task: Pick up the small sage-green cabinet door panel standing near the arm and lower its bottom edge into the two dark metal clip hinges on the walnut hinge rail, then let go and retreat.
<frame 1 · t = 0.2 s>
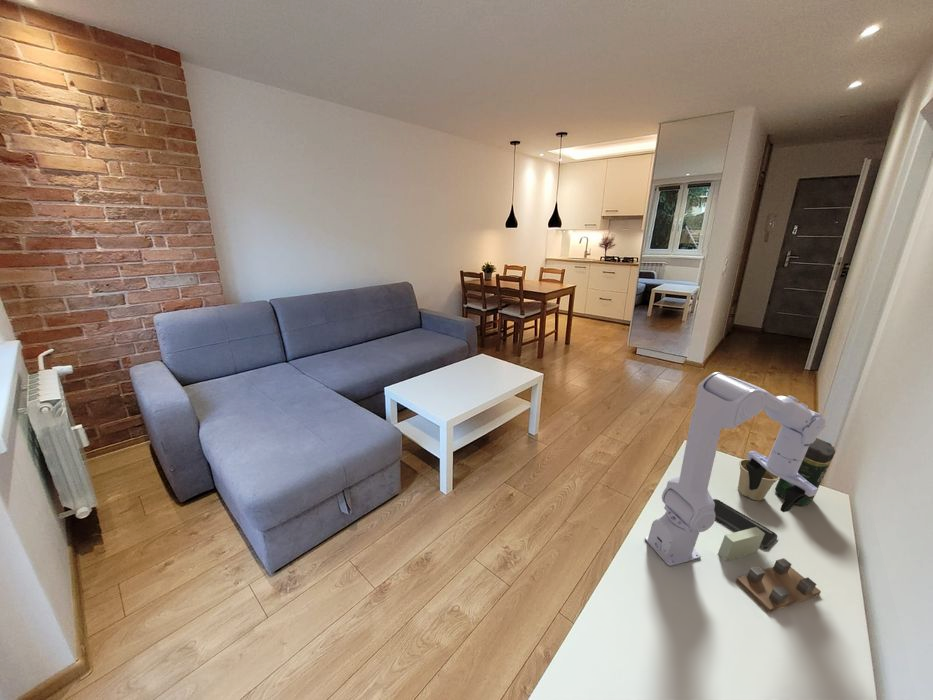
hand: (768, 499, 90), 10 cm above the table, tool pointing down, fingers open, 7 cm apart
door panel: (737, 553, 87), on the table
flower pot: (749, 493, 107), on the table
hinge rail: (777, 587, 78), on the table
phone: (737, 525, 95), on the table
coffee jar: (793, 496, 106), on the table
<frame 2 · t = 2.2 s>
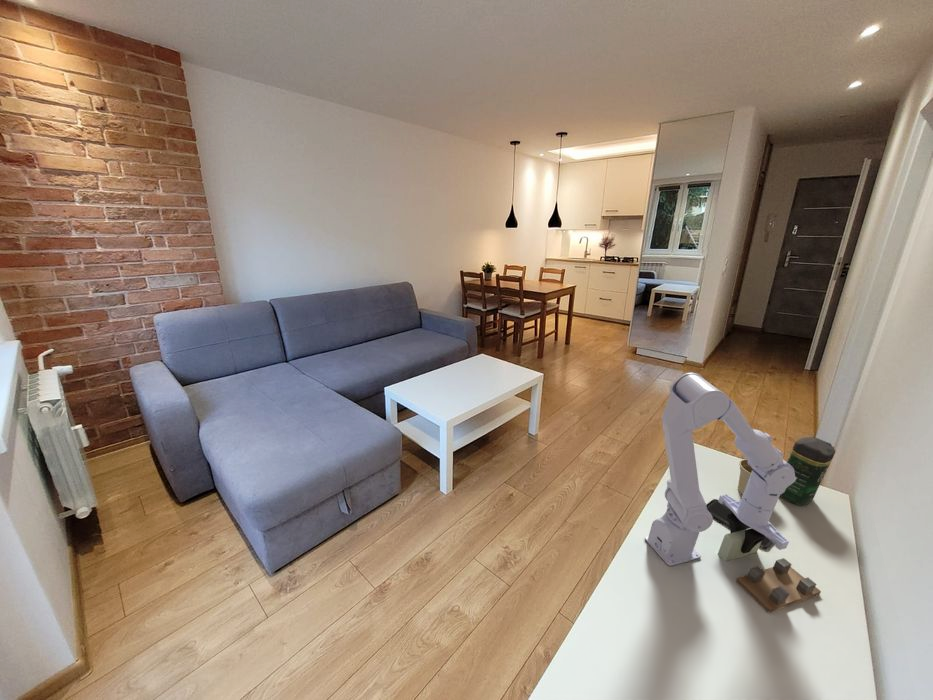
hand: (739, 546, 86), 2 cm above the table, tool pointing down, fingers closed on door panel, 2 cm apart
door panel: (737, 553, 87), on the table, touching gripper
everything else where it was.
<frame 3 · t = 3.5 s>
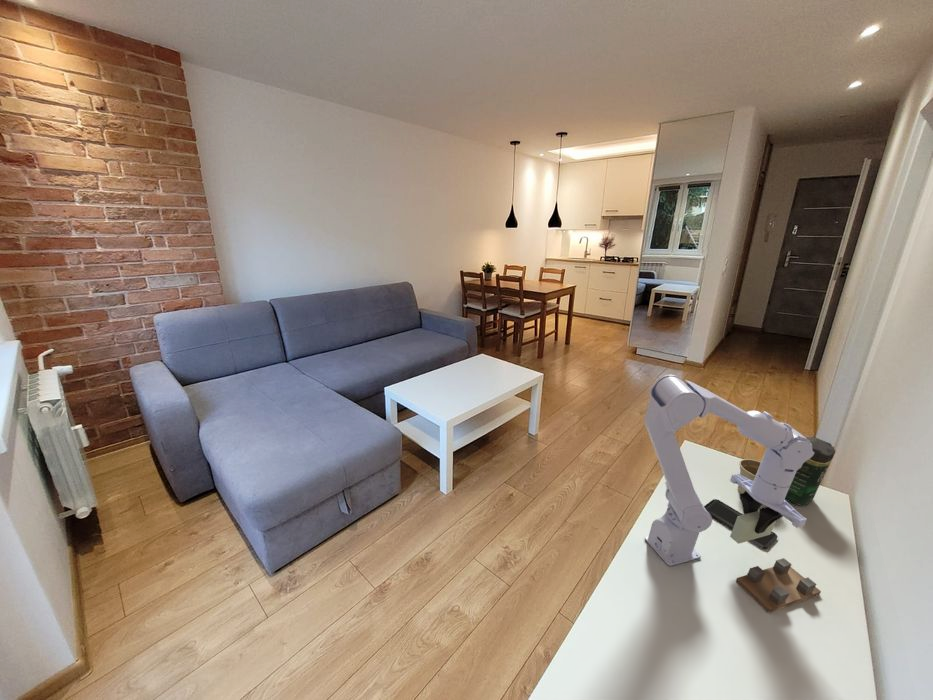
hand: (753, 527, 83), 9 cm above the table, tool pointing down, fingers closed on door panel
door panel: (750, 535, 83), point 6 cm above the table, touching gripper
everything else where it was.
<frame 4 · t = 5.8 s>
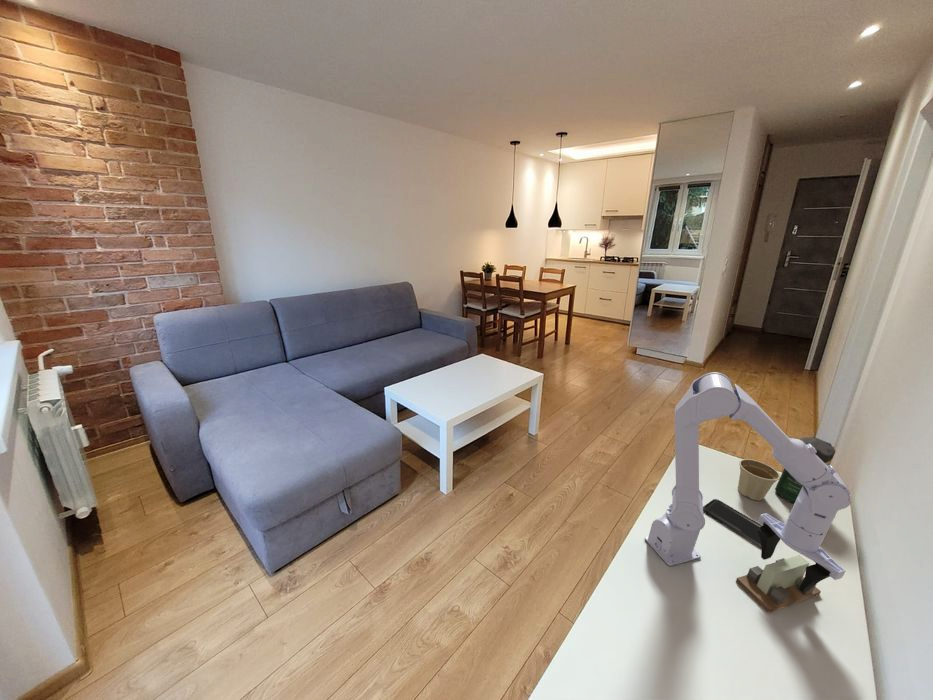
hand: (784, 573, 77), 4 cm above the table, tool pointing down, fingers open, 7 cm apart
door panel: (778, 584, 78), point 1 cm above the table, touching hinge rail
everything else where it was.
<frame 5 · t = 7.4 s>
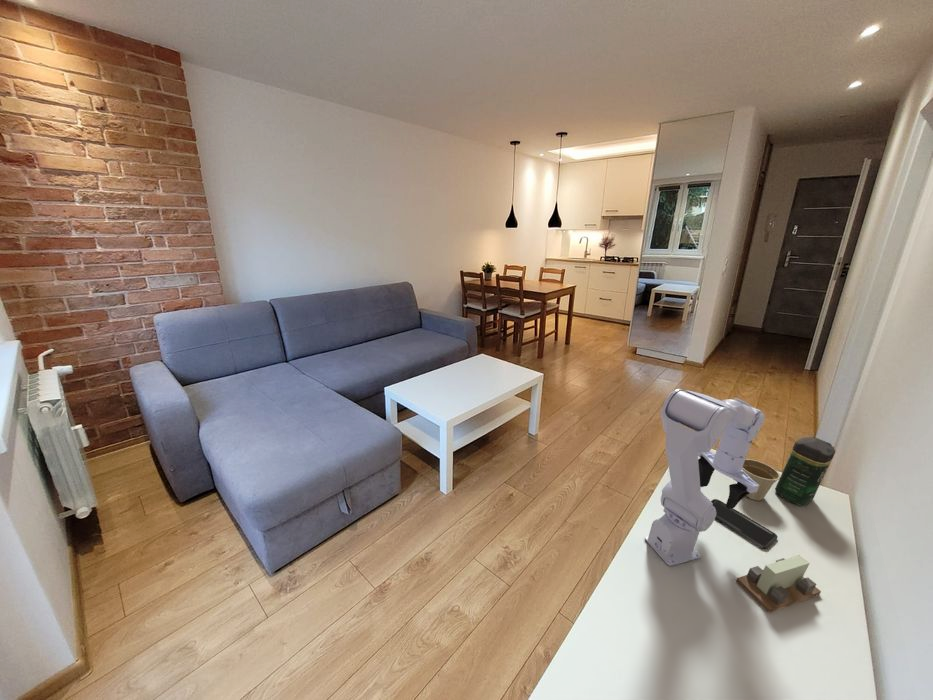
hand: (716, 496, 91), 9 cm above the table, tool pointing down, fingers open, 7 cm apart
nothing on the table moved.
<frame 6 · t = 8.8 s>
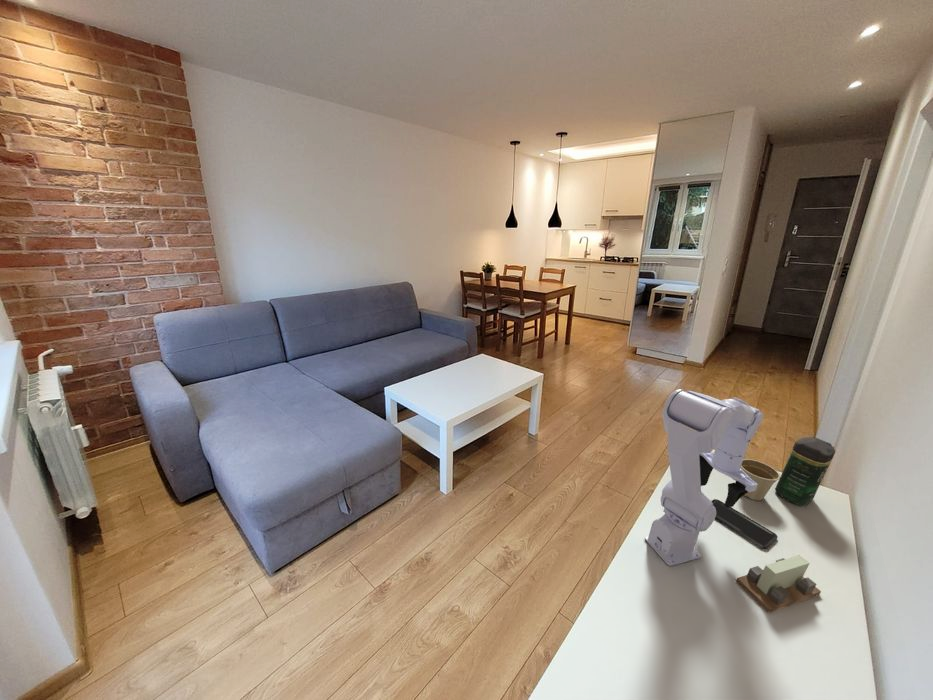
hand: (714, 495, 91), 9 cm above the table, tool pointing down, fingers open, 7 cm apart
nothing on the table moved.
at the end: door panel 0.1 cm off-centre on the hinge rail, point 1.0 cm above the hinge rail's base; door panel tilted 0°; the gripper is holding nothing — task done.
